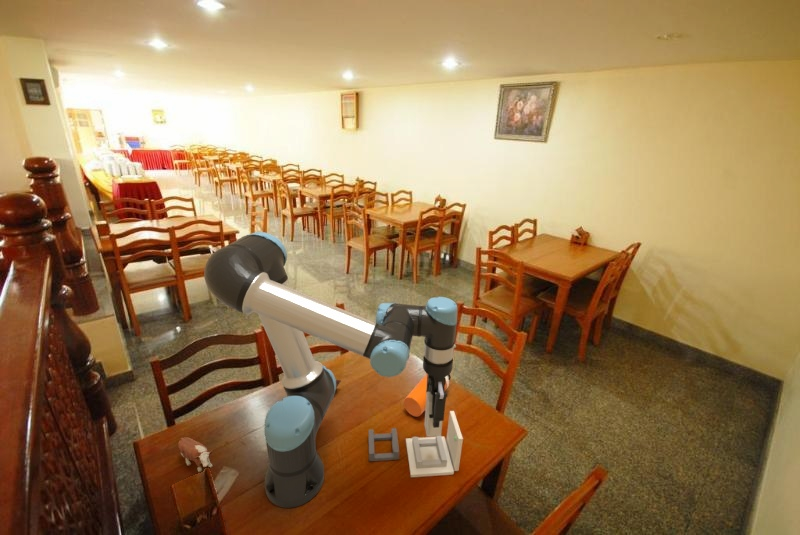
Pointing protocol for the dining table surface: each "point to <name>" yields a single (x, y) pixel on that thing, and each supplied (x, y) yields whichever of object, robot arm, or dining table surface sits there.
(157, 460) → the dining table surface
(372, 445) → the grey square frame
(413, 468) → the port
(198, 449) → the bull figurine
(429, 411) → the plug
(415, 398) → the shaker bottle
